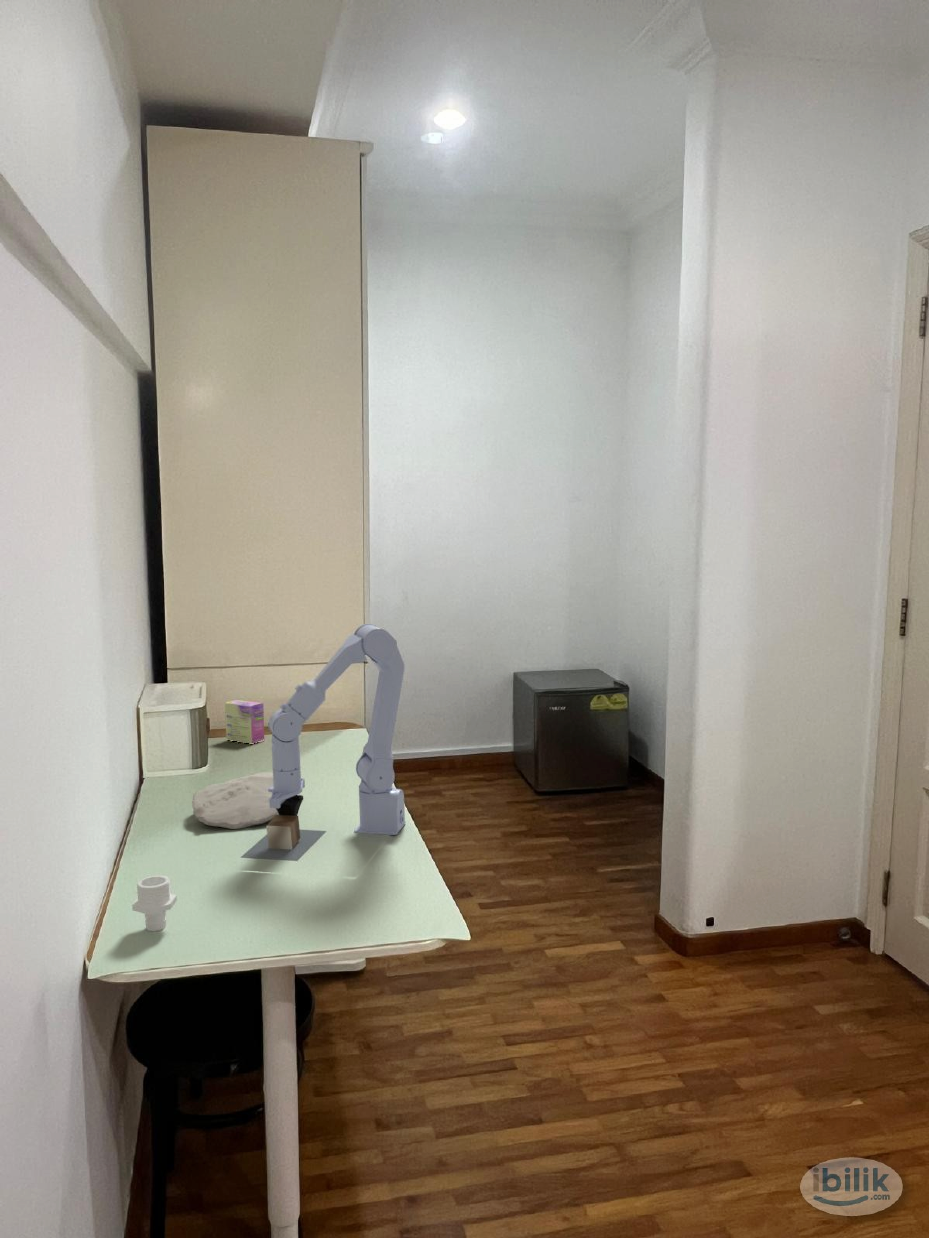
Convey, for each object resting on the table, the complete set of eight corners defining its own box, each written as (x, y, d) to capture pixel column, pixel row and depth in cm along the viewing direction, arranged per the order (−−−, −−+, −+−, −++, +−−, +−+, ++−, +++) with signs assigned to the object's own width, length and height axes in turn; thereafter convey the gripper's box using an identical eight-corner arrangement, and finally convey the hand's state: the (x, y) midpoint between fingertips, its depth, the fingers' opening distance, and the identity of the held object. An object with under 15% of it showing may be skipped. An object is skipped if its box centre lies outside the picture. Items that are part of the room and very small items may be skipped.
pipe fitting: (182, 929, 156) (179, 883, 156) (137, 939, 153) (134, 892, 152) (173, 915, 162) (170, 870, 161) (130, 924, 158) (127, 879, 157)
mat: (326, 832, 202) (326, 830, 202) (297, 861, 185) (297, 860, 185) (274, 829, 204) (273, 828, 204) (240, 858, 187) (240, 857, 187)
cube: (298, 815, 194) (289, 827, 190) (300, 837, 196) (291, 849, 191) (275, 814, 195) (266, 825, 191) (277, 836, 197) (268, 848, 192)
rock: (304, 787, 234) (290, 839, 204) (210, 791, 232) (182, 844, 203) (303, 757, 232) (288, 805, 203) (207, 761, 231) (179, 810, 201)
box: (265, 740, 281) (263, 702, 280) (252, 745, 277) (250, 705, 275) (239, 737, 287) (237, 699, 285) (226, 741, 282) (224, 702, 280)
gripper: (281, 757, 203) (284, 818, 205) (254, 777, 189) (257, 842, 190) (312, 758, 201) (315, 820, 203) (287, 778, 187) (289, 843, 189)
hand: (289, 830), depth 197 cm, fingers closed
